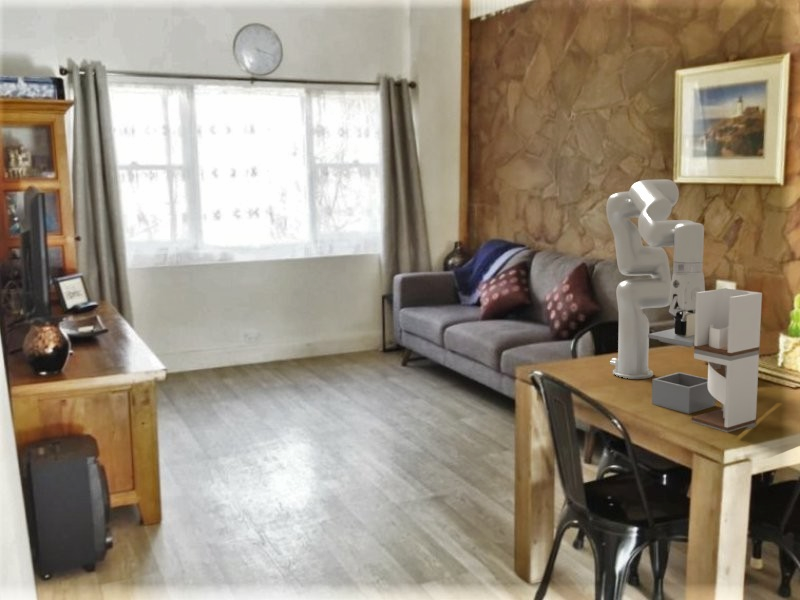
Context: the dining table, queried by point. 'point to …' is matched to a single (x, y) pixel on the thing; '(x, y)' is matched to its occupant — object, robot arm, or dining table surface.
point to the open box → (682, 393)
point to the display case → (729, 354)
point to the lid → (673, 338)
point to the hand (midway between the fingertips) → (685, 332)
